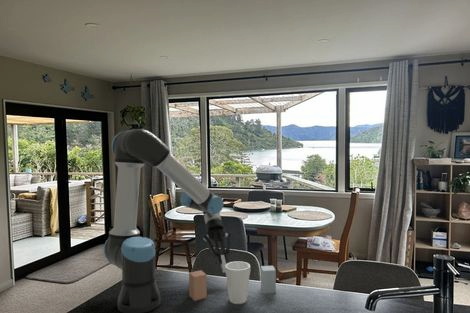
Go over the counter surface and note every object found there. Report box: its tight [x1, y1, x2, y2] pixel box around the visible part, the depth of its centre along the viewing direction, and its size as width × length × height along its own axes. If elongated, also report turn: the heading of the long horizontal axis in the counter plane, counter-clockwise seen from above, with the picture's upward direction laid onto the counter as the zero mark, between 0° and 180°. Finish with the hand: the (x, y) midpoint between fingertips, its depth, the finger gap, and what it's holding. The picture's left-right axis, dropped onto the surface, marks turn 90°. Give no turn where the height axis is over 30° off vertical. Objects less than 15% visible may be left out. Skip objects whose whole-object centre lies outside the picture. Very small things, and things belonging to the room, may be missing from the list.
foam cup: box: [224, 260, 251, 305], centre depth 122 cm, size 10×9×13 cm
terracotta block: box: [188, 269, 208, 302], centre depth 125 cm, size 5×5×9 cm
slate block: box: [260, 265, 277, 294], centre depth 130 cm, size 5×5×9 cm
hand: (225, 270), depth 136 cm, fingers closed
